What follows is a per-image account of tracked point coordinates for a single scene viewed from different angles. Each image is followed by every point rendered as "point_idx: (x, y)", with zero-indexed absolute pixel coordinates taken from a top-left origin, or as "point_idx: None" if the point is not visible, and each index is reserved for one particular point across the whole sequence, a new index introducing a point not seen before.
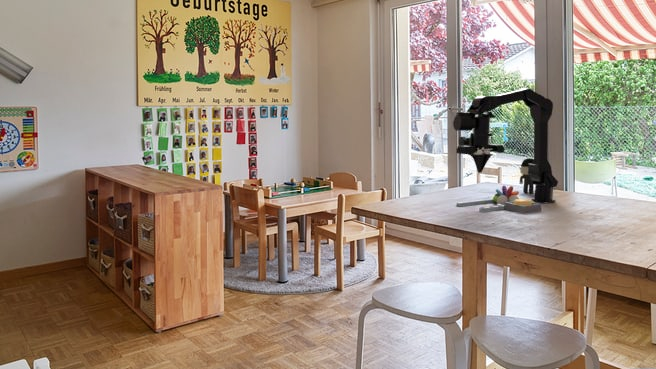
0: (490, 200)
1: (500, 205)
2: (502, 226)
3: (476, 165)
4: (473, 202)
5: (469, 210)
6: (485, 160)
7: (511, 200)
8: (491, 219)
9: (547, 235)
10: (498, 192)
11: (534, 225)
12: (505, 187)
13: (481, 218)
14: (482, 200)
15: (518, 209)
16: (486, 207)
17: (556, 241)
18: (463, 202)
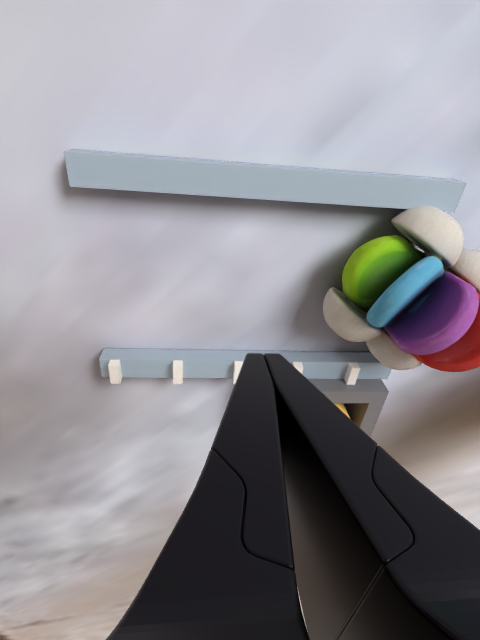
0: (374, 206)
1: (233, 381)
2: (14, 529)
3: (221, 433)
4: (214, 194)
5: (64, 311)
6: (313, 637)
7: (370, 350)
8: (43, 467)
9: (70, 594)
10: (370, 313)
11: (123, 544)
12: (426, 353)
13: (12, 446)
14: (306, 197)
15: None
16: (142, 369)
17: (50, 616)
18: (119, 181)
